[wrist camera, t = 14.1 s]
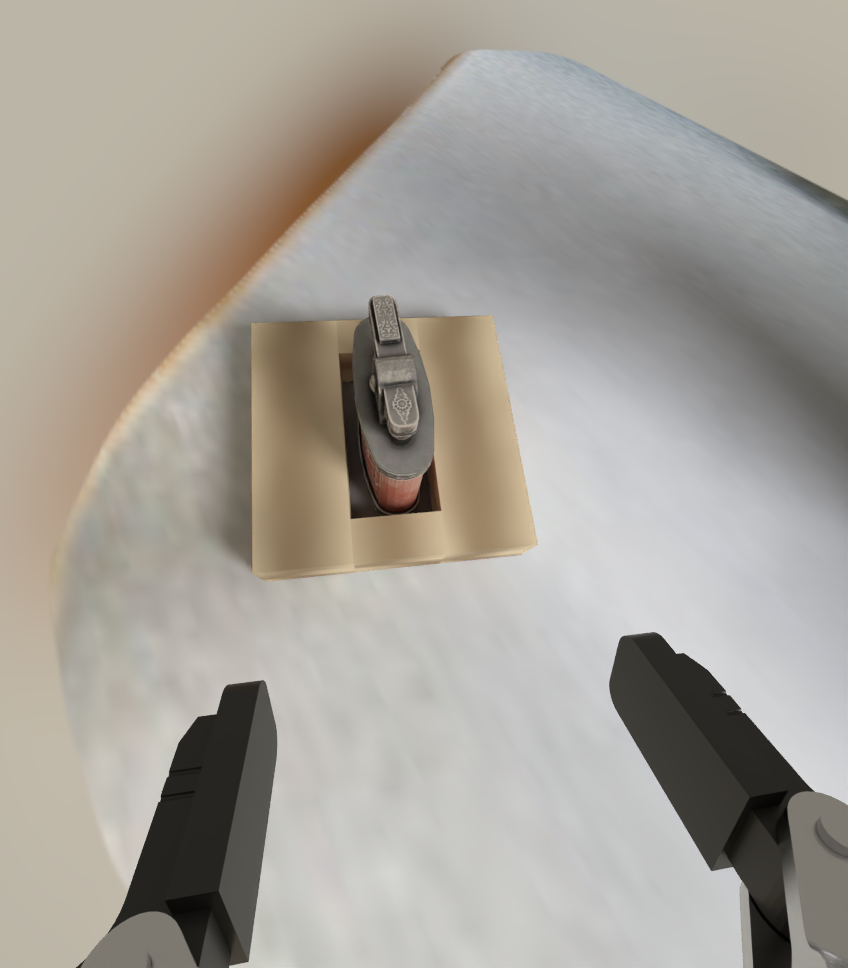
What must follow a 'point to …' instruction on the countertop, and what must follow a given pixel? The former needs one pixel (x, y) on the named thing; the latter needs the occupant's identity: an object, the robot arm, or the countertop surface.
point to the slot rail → (324, 463)
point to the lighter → (391, 409)
